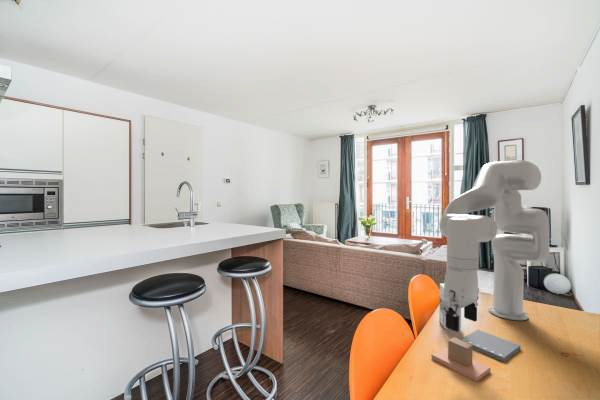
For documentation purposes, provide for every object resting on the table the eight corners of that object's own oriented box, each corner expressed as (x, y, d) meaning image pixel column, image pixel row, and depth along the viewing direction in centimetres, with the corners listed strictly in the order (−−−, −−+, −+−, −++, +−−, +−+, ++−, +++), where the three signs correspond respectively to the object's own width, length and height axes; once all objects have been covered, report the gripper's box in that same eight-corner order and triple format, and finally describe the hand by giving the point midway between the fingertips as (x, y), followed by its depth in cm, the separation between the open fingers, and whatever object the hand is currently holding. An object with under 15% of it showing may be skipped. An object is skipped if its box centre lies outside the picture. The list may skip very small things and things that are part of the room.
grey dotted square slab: (477, 333, 96) (477, 329, 96) (520, 349, 86) (520, 345, 86) (459, 343, 89) (459, 339, 89) (503, 361, 79) (503, 357, 79)
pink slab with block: (445, 350, 85) (445, 330, 85) (490, 371, 75) (490, 348, 75) (431, 358, 81) (431, 337, 80) (477, 381, 71) (477, 357, 71)
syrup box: (461, 330, 98) (462, 288, 97) (442, 328, 99) (443, 287, 99) (455, 323, 103) (456, 283, 103) (438, 321, 104) (439, 282, 104)
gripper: (463, 255, 85) (463, 311, 86) (431, 264, 75) (430, 327, 76) (491, 260, 79) (491, 321, 80) (460, 271, 69) (459, 340, 70)
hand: (461, 324), depth 78 cm, fingers open, 9 cm apart
